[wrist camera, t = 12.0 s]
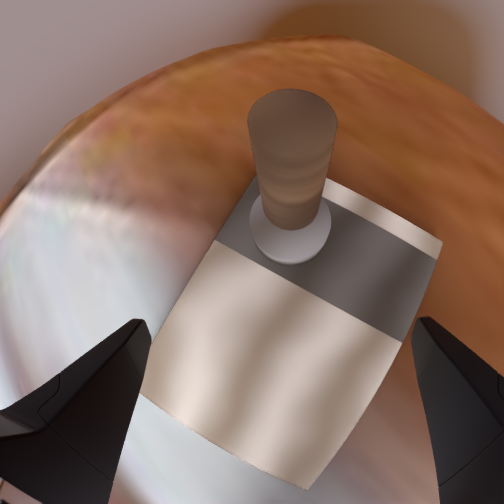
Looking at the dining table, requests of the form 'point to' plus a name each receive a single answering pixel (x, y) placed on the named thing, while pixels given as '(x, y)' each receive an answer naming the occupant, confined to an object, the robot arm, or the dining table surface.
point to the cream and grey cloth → (290, 335)
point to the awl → (291, 174)
